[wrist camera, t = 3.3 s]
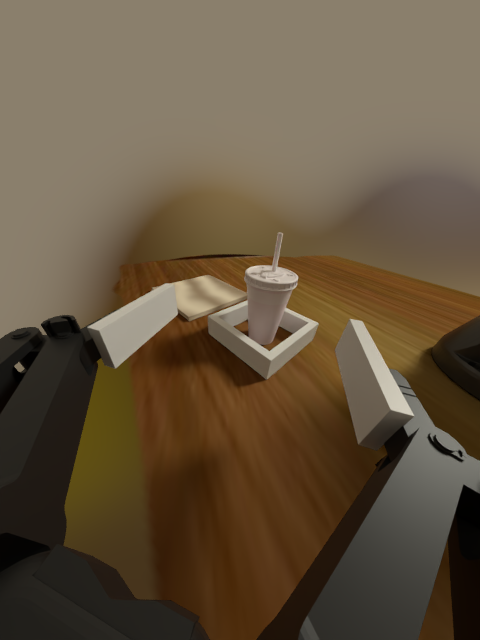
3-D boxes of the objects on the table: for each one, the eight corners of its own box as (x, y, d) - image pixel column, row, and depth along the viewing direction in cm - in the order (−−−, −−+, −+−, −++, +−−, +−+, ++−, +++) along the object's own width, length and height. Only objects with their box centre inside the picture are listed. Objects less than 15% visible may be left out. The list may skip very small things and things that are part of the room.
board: (208, 277, 46) (208, 274, 45) (249, 298, 38) (249, 294, 37) (152, 291, 37) (151, 287, 37) (189, 321, 29) (188, 317, 29)
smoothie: (289, 335, 28) (317, 235, 20) (269, 358, 23) (294, 241, 16) (254, 320, 31) (266, 227, 23) (230, 337, 26) (235, 231, 19)
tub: (257, 310, 33) (259, 295, 32) (312, 339, 27) (318, 323, 25) (208, 333, 27) (207, 316, 25) (266, 379, 20) (271, 360, 19)
